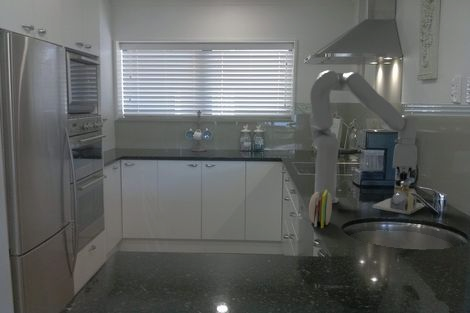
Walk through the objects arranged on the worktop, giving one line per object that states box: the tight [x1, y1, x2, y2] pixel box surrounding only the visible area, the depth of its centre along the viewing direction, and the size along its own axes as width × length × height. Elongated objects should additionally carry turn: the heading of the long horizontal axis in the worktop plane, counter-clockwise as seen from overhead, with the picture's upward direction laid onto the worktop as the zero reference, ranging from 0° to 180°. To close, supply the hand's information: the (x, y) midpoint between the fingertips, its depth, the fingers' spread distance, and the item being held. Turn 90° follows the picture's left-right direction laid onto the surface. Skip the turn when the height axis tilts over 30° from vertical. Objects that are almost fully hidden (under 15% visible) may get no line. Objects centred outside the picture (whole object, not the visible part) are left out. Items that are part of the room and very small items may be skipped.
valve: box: [372, 186, 425, 215], centre depth 192 cm, size 20×16×10 cm
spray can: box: [393, 166, 411, 194], centre depth 219 cm, size 7×7×20 cm
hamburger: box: [308, 190, 333, 229], centre depth 163 cm, size 12×8×12 cm
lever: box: [401, 177, 416, 187], centre depth 195 cm, size 16×4×2 cm, turn 147°
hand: (403, 181), depth 201 cm, fingers closed
